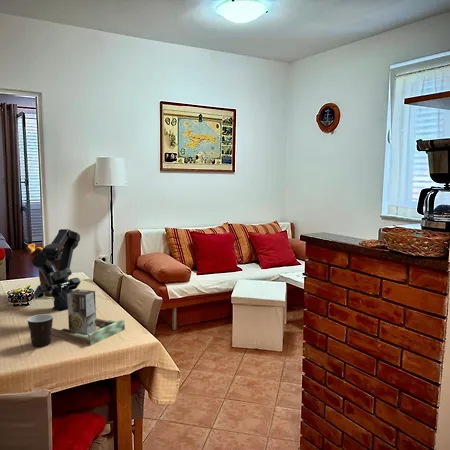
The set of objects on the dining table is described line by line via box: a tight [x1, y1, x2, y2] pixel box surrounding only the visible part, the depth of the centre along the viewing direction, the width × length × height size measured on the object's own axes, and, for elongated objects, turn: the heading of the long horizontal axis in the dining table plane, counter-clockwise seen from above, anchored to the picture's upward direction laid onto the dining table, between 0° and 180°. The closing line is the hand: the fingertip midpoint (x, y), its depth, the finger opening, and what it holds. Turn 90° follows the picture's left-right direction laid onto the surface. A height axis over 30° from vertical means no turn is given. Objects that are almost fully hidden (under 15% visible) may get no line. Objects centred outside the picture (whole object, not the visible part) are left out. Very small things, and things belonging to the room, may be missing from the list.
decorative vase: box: [27, 243, 63, 300], centre depth 217 cm, size 21×23×28 cm
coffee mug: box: [26, 313, 54, 348], centre depth 153 cm, size 12×9×10 cm
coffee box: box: [67, 288, 97, 335], centre depth 168 cm, size 9×6×16 cm
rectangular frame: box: [51, 317, 126, 346], centre depth 167 cm, size 18×24×4 cm
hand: (66, 303), depth 173 cm, fingers closed
